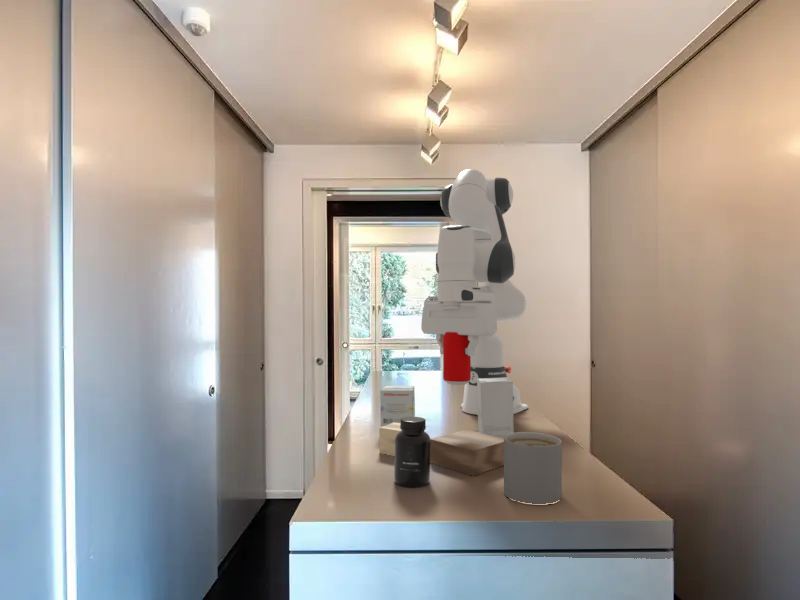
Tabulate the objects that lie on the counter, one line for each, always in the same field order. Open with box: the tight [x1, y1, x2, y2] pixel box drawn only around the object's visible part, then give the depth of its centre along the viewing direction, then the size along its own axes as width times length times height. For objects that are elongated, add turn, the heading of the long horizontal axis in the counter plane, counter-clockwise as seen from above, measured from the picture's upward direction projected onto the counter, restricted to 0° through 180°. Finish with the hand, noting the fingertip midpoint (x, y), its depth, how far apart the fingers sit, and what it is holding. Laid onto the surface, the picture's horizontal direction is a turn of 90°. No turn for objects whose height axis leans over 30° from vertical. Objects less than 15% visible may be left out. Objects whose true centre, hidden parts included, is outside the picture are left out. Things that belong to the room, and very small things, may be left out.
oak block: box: [378, 422, 401, 457], centre depth 119 cm, size 6×6×6 cm
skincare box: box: [477, 376, 515, 438], centre depth 132 cm, size 8×6×15 cm
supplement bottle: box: [393, 416, 431, 488], centre depth 100 cm, size 7×7×12 cm
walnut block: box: [430, 429, 504, 477], centre depth 111 cm, size 12×12×5 cm
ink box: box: [379, 385, 416, 427], centre depth 138 cm, size 9×9×12 cm
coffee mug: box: [503, 431, 563, 504], centre depth 95 cm, size 13×10×10 cm
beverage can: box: [442, 331, 471, 386], centre depth 119 cm, size 6×6×12 cm
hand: (457, 355), depth 119 cm, fingers closed on beverage can, 6 cm apart
